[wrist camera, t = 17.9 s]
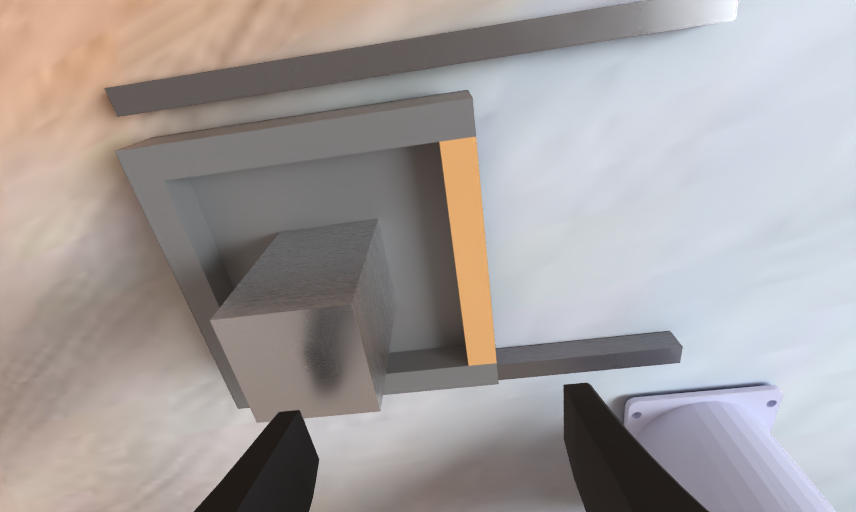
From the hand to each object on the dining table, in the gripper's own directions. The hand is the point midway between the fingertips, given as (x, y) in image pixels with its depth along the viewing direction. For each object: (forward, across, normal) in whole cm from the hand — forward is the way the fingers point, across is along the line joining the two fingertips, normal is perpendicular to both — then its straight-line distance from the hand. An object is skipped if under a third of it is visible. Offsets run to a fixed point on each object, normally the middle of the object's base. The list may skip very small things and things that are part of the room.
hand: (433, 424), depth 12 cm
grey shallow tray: (+9, +4, -2) cm, 10 cm away
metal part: (+7, +4, -1) cm, 8 cm away
